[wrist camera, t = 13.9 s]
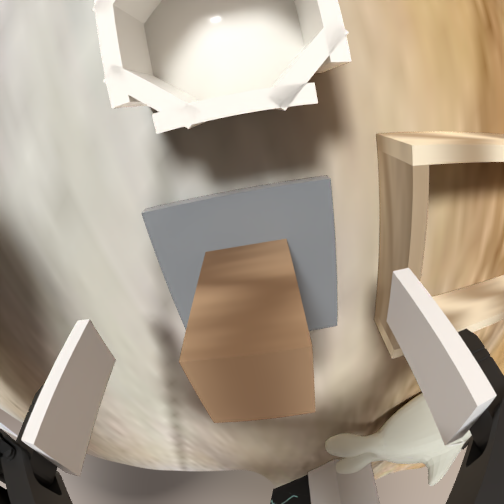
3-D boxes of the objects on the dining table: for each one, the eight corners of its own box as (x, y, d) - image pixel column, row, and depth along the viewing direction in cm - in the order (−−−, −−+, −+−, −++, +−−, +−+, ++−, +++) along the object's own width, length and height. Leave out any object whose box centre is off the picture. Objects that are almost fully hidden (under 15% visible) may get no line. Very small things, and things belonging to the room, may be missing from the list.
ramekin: (153, 135, 12) (118, 149, 9) (125, -10, 8) (88, -37, 5) (329, 102, 12) (361, 104, 8) (295, -45, 8) (311, -85, 4)
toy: (463, 407, 27) (487, 464, 18) (333, 456, 30) (343, 522, 21) (499, 322, 19) (550, 398, 10) (313, 395, 22) (330, 505, 13)
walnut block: (223, 313, 16) (214, 422, 10) (205, 252, 14) (178, 361, 8) (294, 303, 16) (315, 411, 10) (286, 238, 14) (312, 346, 8)
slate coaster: (194, 339, 18) (193, 346, 18) (145, 208, 14) (141, 213, 13) (335, 319, 18) (337, 325, 17) (327, 175, 13) (330, 178, 13)
